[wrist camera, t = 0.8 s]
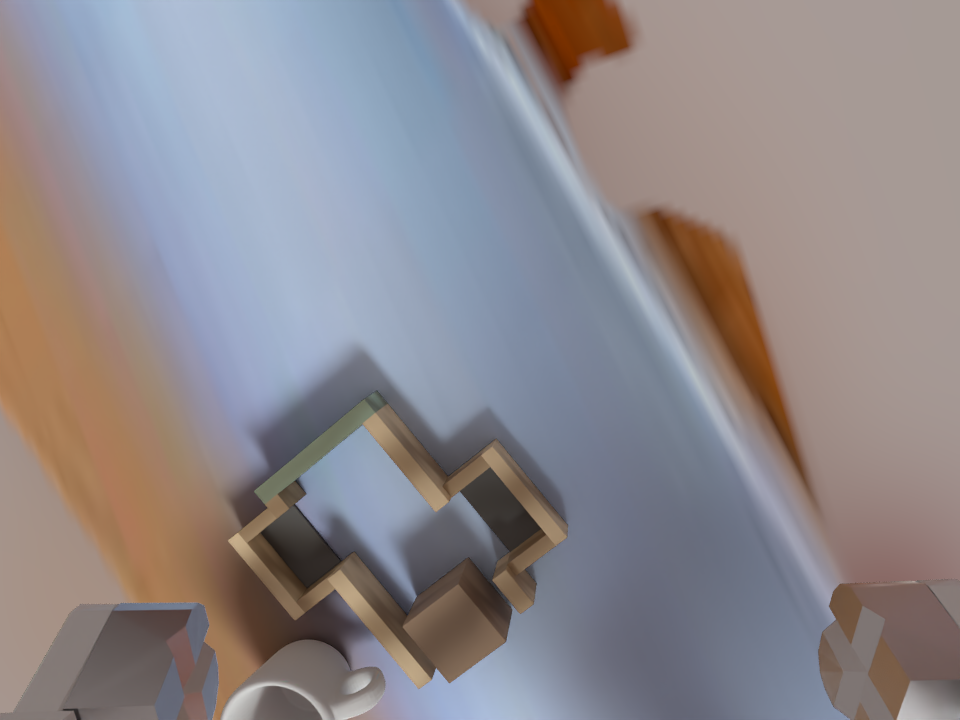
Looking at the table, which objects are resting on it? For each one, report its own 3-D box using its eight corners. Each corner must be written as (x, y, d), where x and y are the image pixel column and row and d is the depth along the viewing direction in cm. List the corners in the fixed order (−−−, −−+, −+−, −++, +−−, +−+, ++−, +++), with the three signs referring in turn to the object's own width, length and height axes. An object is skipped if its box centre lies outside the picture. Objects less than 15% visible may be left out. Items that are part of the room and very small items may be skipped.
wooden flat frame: (585, 547, 57) (586, 565, 53) (383, 697, 60) (371, 724, 57) (424, 351, 57) (413, 357, 53) (229, 513, 60) (208, 529, 56)
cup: (380, 603, 59) (350, 655, 51) (415, 701, 60) (390, 768, 52) (249, 639, 61) (201, 695, 53) (285, 734, 62) (241, 804, 54)
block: (512, 609, 58) (505, 641, 53) (460, 648, 59) (449, 683, 54) (468, 556, 58) (458, 584, 53) (417, 596, 59) (402, 626, 54)
